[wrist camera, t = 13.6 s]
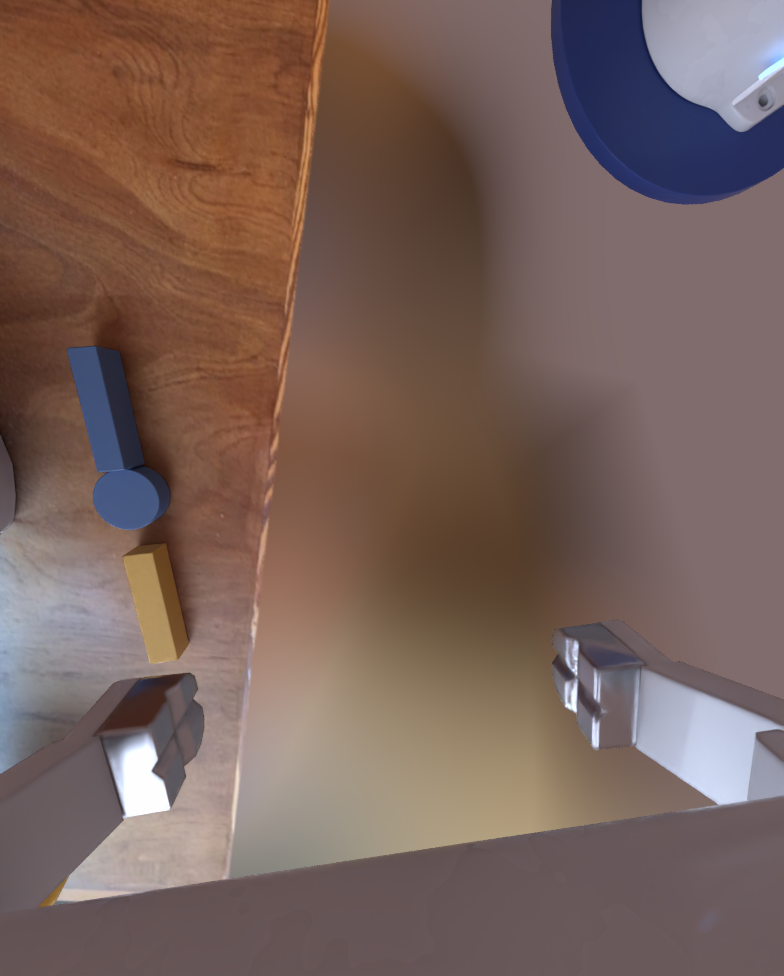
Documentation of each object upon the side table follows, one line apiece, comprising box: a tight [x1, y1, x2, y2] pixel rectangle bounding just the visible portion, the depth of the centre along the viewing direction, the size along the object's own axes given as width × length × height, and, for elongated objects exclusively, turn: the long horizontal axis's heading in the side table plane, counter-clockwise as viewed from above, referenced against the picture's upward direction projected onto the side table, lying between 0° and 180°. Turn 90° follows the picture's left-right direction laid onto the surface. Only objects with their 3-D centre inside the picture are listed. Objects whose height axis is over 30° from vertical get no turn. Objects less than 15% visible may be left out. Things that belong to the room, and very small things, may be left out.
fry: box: [123, 543, 189, 664], centre depth 34 cm, size 10×2×2 cm, turn 5°
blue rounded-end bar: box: [67, 346, 170, 530], centre depth 31 cm, size 14×5×3 cm, turn 5°
